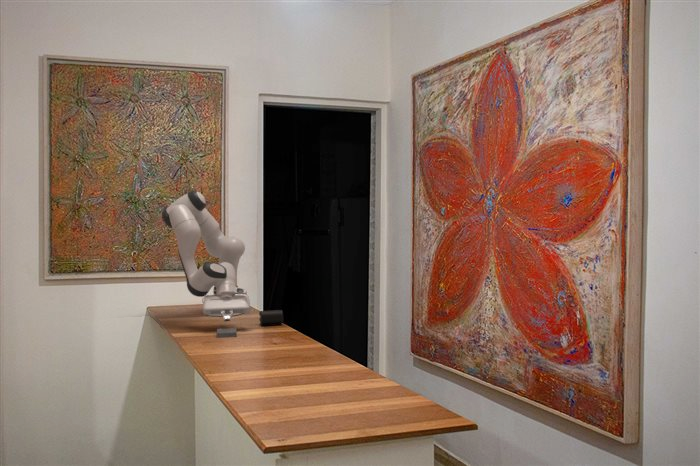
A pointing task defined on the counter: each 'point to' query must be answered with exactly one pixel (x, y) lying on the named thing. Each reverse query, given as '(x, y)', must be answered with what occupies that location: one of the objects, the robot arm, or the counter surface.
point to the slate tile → (226, 332)
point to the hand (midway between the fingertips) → (227, 320)
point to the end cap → (271, 317)
